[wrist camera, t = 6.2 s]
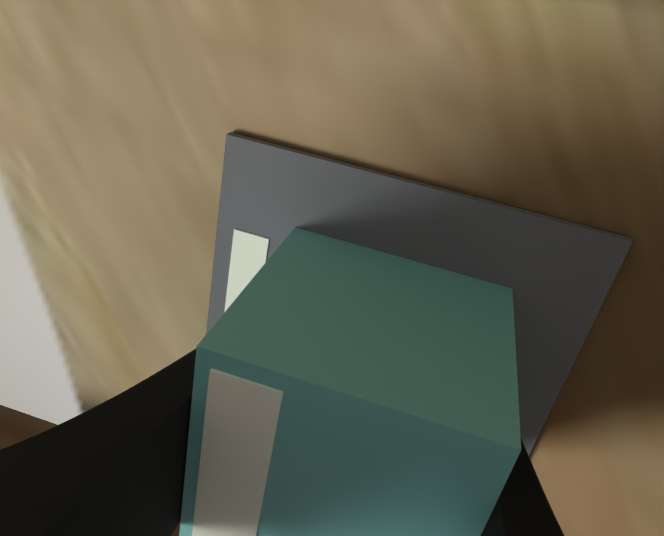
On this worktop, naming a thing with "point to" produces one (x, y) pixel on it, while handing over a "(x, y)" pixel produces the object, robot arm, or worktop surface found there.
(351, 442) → the cube
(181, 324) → the worktop surface
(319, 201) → the mat
